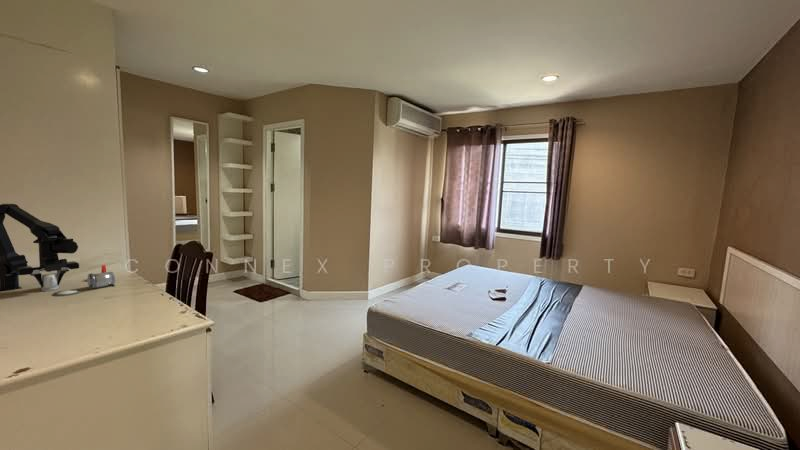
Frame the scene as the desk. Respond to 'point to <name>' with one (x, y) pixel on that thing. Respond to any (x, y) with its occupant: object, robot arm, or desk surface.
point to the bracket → (103, 269)
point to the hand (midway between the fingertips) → (50, 286)
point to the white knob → (49, 282)
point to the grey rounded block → (101, 280)
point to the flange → (67, 292)
